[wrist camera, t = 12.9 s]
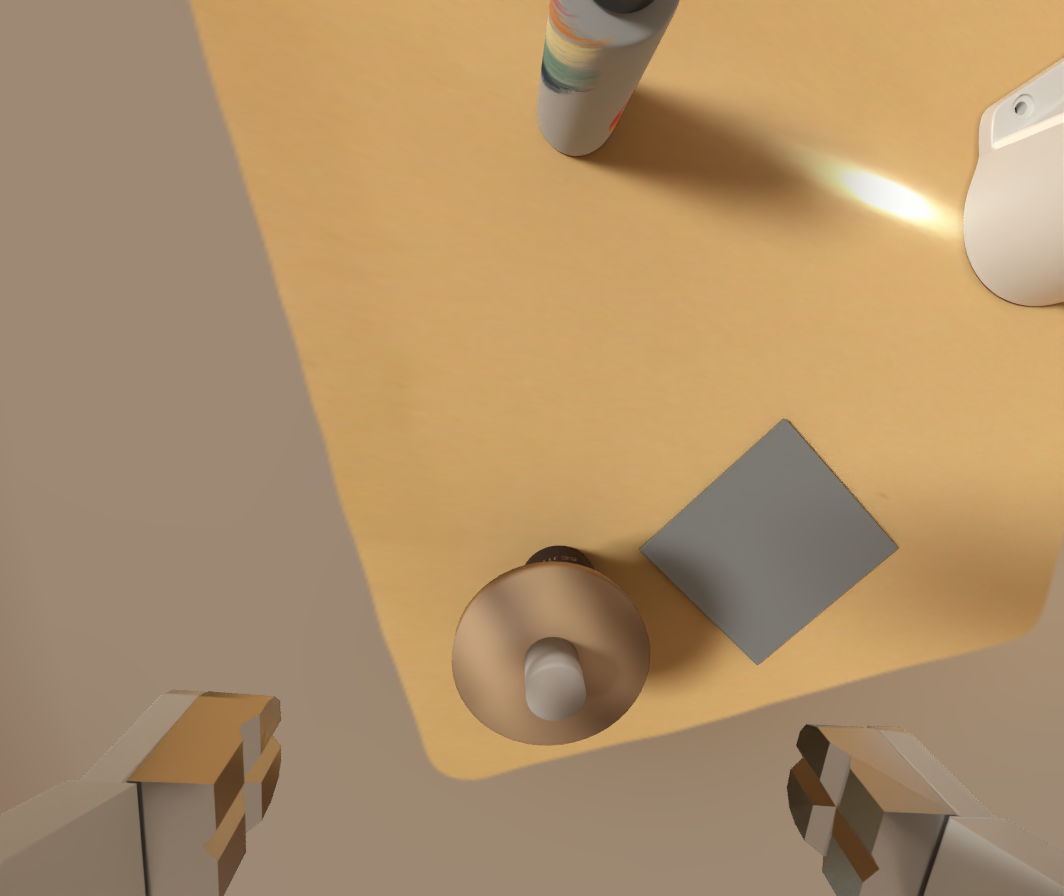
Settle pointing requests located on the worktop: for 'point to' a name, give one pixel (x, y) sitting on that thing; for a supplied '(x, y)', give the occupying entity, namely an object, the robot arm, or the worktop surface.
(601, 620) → the wooden lid
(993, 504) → the worktop surface
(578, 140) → the lotion bottle
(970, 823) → the robot arm
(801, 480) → the rubber mat
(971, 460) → the worktop surface
